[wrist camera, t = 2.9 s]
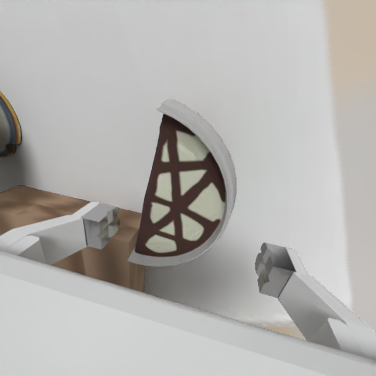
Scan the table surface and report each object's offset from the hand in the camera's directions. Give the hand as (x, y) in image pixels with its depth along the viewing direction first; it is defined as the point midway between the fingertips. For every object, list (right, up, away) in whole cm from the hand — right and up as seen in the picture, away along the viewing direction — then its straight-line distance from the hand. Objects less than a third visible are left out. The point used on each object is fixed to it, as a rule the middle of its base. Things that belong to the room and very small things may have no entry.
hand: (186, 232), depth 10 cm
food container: (+2, +5, +10) cm, 12 cm away
